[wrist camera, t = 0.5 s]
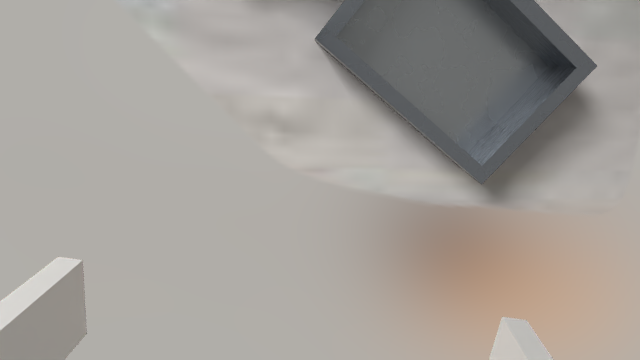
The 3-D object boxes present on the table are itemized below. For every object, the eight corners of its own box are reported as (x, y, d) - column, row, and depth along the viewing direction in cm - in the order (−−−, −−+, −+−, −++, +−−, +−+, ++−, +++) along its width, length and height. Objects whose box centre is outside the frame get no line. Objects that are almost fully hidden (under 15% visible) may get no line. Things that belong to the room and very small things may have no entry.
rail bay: (412, -84, 30) (429, -108, 26) (560, 64, 33) (597, 66, 29) (314, 40, 32) (315, 38, 28) (461, 168, 35) (481, 184, 31)
